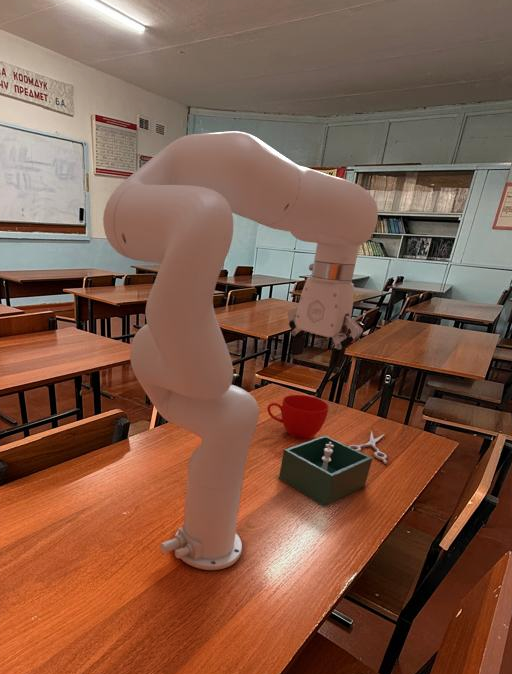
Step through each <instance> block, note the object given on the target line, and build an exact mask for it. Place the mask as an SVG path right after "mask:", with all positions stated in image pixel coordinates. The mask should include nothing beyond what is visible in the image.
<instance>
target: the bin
mask: <svg viewBox="0 0 512 674" xmlns="http://www.w3.org/2000/svg"><path fill="white" fill-rule="evenodd" d="M329 442H331V445H334V446H333V447H330V449H332V450H333V452H332V454H331V455H330V457H329V458H331V461H330V462H328V466H327V471H326V470H324V469H322V468H321V467H322V465H323V462H324V461H323V460H322V457H324V456H325V453H324V449H325V448H328V447H326V444H329ZM373 459H374V457H371V456H369V455H367V454H366V453H363V452H361V451H360V452H359V451H357V450H356V448H350V447H349V445H346V444H344V443H342V442H340V441H338V440H335V439H334V438H332V437H330V436H328V435H322V436H319V437H316V438H314V439H310V440H308V441H305V442H302V443H299V444H297V445H294V446H290V447H288V448H285V449H283V454H282V459H281V464H280V470H279V475H278V479H279V480H281V481H282V482H284V483H286V484H288V485H289V486H291V487H293V488H294V489H296V490H298V491H299V492H301V493H302V494H304V495H306V496H307V497H309V498H310V499H312V500H314V501H316V502H317V503H318V504H320V505H322V506H323V507H326V506H328V505H331V504H332V503H335V502H336V501H339V500H340V499H343V498H344V497H346V496H348V495H350V494H352V493H354V492H356V491H358V490H360V489H362V488H364V487H365V486H366V484H367V479H368V477H369V472H370V469H371V465H372V462H373Z"/></svg>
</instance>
